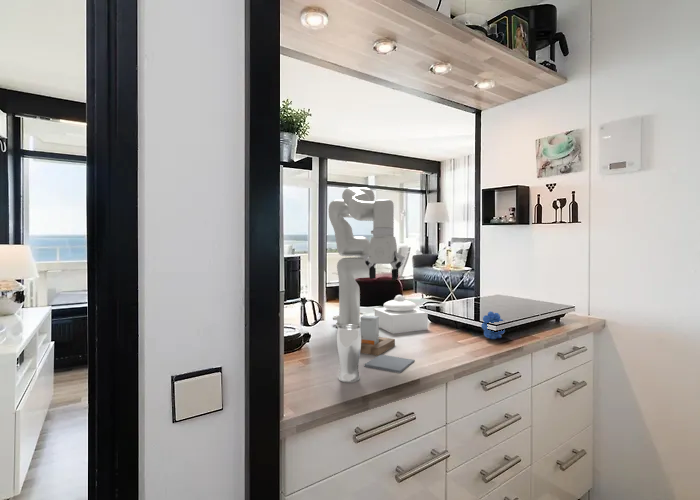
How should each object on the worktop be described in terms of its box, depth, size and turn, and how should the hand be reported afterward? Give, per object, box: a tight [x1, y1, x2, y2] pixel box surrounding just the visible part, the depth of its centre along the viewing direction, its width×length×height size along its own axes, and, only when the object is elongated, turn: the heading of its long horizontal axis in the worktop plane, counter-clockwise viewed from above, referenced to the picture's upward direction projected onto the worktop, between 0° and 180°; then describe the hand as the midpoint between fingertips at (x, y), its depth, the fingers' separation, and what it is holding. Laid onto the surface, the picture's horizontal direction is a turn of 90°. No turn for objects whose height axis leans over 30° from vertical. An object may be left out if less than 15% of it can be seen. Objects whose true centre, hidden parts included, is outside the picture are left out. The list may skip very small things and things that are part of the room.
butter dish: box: [373, 294, 429, 334], centre depth 167 cm, size 18×18×16 cm
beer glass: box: [336, 324, 361, 384], centre depth 105 cm, size 7×7×15 cm
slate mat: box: [363, 353, 415, 374], centre depth 117 cm, size 12×12×1 cm
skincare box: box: [360, 314, 380, 345], centre depth 136 cm, size 6×4×12 cm
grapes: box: [480, 311, 506, 340], centre depth 145 cm, size 12×7×12 cm, turn 115°
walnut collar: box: [360, 336, 396, 357], centre depth 136 cm, size 14×14×3 cm
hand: (383, 279), depth 137 cm, fingers open, 9 cm apart
